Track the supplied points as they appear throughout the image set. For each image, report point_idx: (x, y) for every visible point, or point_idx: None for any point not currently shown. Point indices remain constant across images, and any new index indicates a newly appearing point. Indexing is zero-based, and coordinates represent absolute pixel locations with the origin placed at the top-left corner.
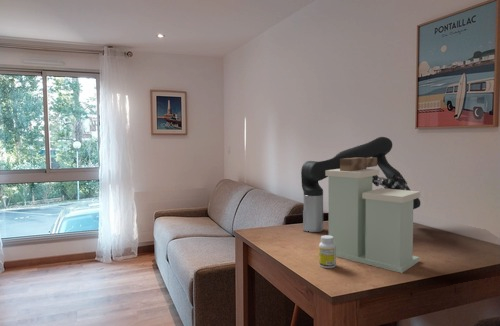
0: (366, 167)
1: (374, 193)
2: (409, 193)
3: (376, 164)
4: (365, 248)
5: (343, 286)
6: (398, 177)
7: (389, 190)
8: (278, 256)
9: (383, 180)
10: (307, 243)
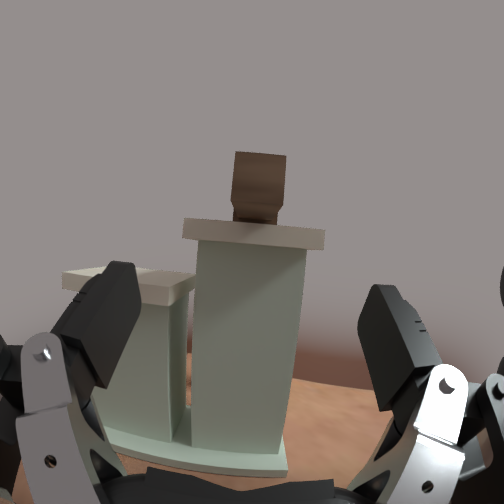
0: (233, 216)
1: (170, 272)
2: (96, 269)
3: (232, 192)
4: (185, 388)
5: (186, 363)
6: (40, 337)
7: (141, 277)
8: (322, 386)
9: (360, 501)
10: (359, 438)
